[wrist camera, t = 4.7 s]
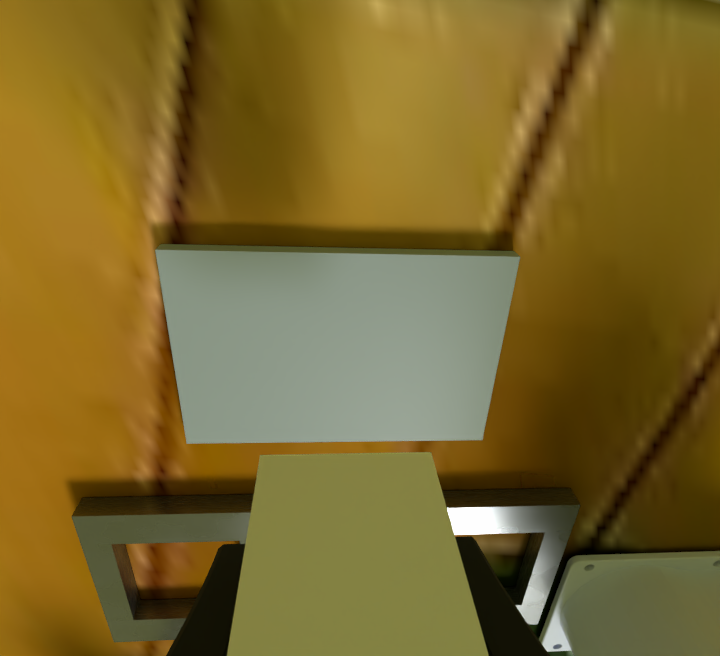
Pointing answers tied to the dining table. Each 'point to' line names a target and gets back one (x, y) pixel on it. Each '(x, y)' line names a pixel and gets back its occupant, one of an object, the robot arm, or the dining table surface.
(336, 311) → the pad
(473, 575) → the robot arm
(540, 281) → the dining table surface
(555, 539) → the grey slotted frame
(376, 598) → the peg
